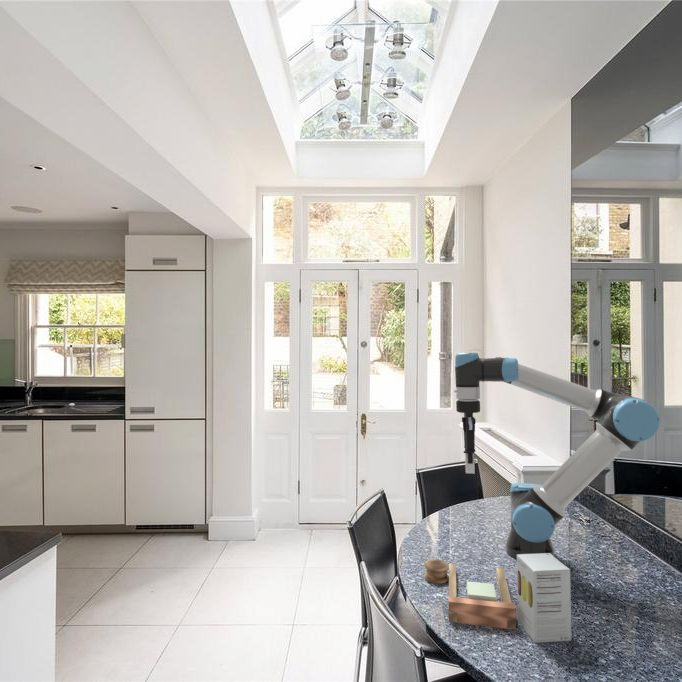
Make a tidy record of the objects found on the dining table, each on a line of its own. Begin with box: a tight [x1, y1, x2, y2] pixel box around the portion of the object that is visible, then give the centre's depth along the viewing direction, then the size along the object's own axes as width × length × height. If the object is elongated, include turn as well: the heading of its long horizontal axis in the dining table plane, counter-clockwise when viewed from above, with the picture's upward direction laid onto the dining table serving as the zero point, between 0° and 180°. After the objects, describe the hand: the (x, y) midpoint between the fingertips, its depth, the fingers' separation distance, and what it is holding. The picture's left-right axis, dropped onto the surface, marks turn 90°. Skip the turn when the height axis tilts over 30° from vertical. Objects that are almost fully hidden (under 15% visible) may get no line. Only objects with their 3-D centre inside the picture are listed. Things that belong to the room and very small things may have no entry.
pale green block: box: [466, 580, 497, 602], centre depth 123 cm, size 7×7×6 cm
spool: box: [423, 558, 449, 585], centre depth 142 cm, size 7×7×4 cm
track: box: [448, 563, 517, 630], centre depth 130 cm, size 16×28×5 cm, turn 167°
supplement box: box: [516, 553, 572, 644], centre depth 115 cm, size 10×9×17 cm
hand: (470, 472), depth 152 cm, fingers closed
